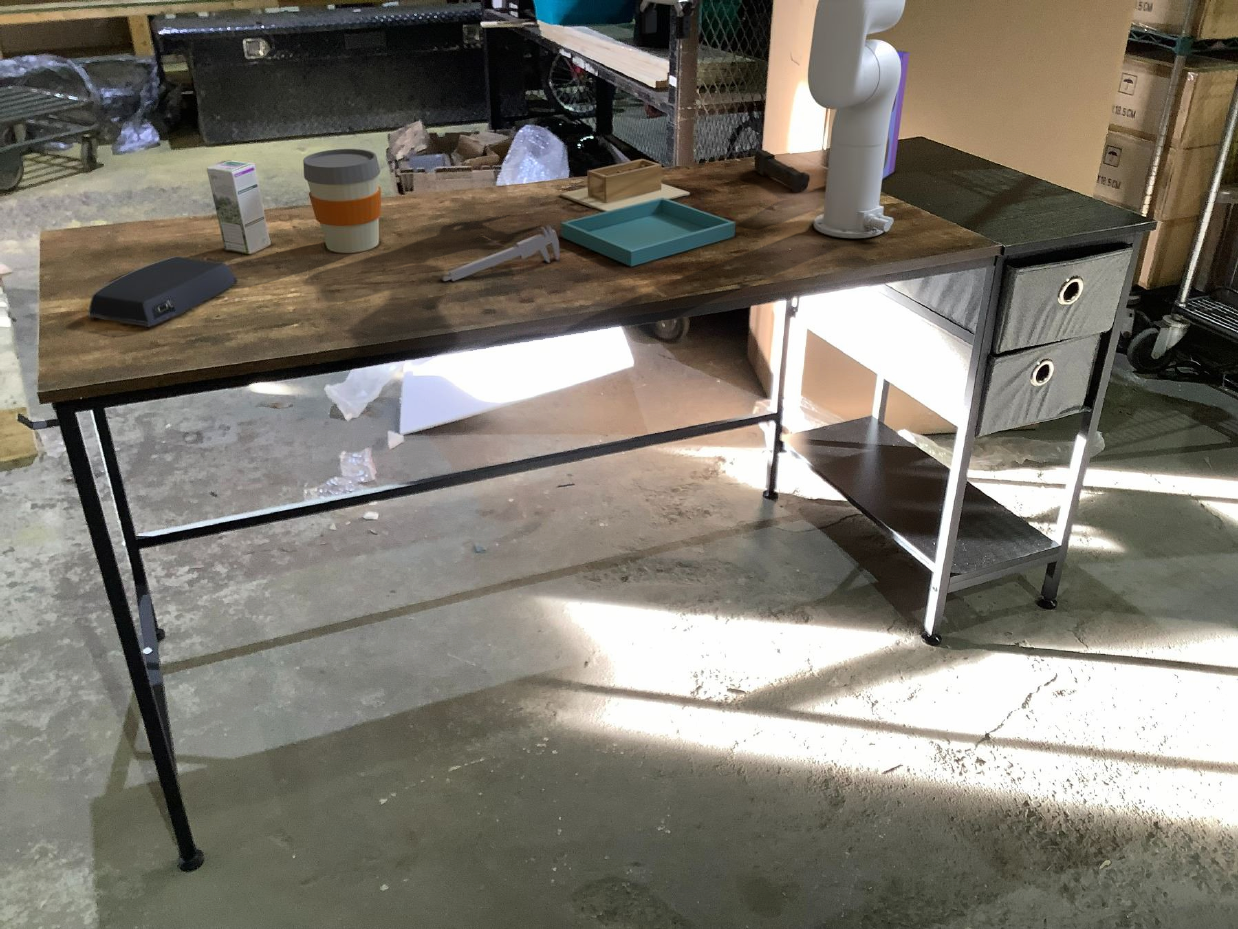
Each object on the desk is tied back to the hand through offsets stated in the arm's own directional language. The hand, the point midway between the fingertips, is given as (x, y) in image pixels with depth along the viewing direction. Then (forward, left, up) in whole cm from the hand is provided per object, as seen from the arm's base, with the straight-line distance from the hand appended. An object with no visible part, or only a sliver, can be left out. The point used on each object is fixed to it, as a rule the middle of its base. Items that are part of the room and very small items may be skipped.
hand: (665, 35), depth 197 cm
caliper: (-24, +55, -28) cm, 66 cm away
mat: (-4, +13, -28) cm, 31 cm away
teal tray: (-26, +26, -28) cm, 46 cm away
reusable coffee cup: (+4, +68, -28) cm, 74 cm away
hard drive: (-2, +102, -28) cm, 106 cm away
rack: (-4, +13, -27) cm, 31 cm away
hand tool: (-16, -17, -28) cm, 36 cm away
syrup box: (+14, +83, -28) cm, 89 cm away
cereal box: (-28, -32, -28) cm, 51 cm away
